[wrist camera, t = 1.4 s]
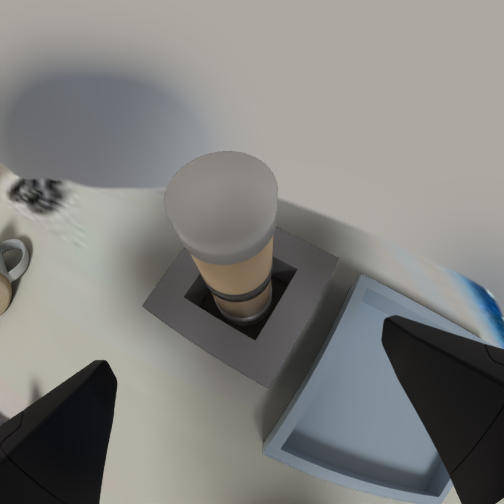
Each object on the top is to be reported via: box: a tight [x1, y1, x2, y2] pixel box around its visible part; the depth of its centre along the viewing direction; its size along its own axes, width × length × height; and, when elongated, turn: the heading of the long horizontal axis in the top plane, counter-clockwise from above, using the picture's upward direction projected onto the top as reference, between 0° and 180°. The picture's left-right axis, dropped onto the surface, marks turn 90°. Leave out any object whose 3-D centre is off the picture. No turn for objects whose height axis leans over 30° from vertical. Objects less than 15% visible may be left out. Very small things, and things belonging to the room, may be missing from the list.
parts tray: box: [262, 274, 492, 504], centre depth 15 cm, size 16×14×3 cm
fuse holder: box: [142, 227, 339, 388], centre depth 20 cm, size 10×10×4 cm
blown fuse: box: [165, 151, 278, 326], centre depth 16 cm, size 4×4×13 cm
